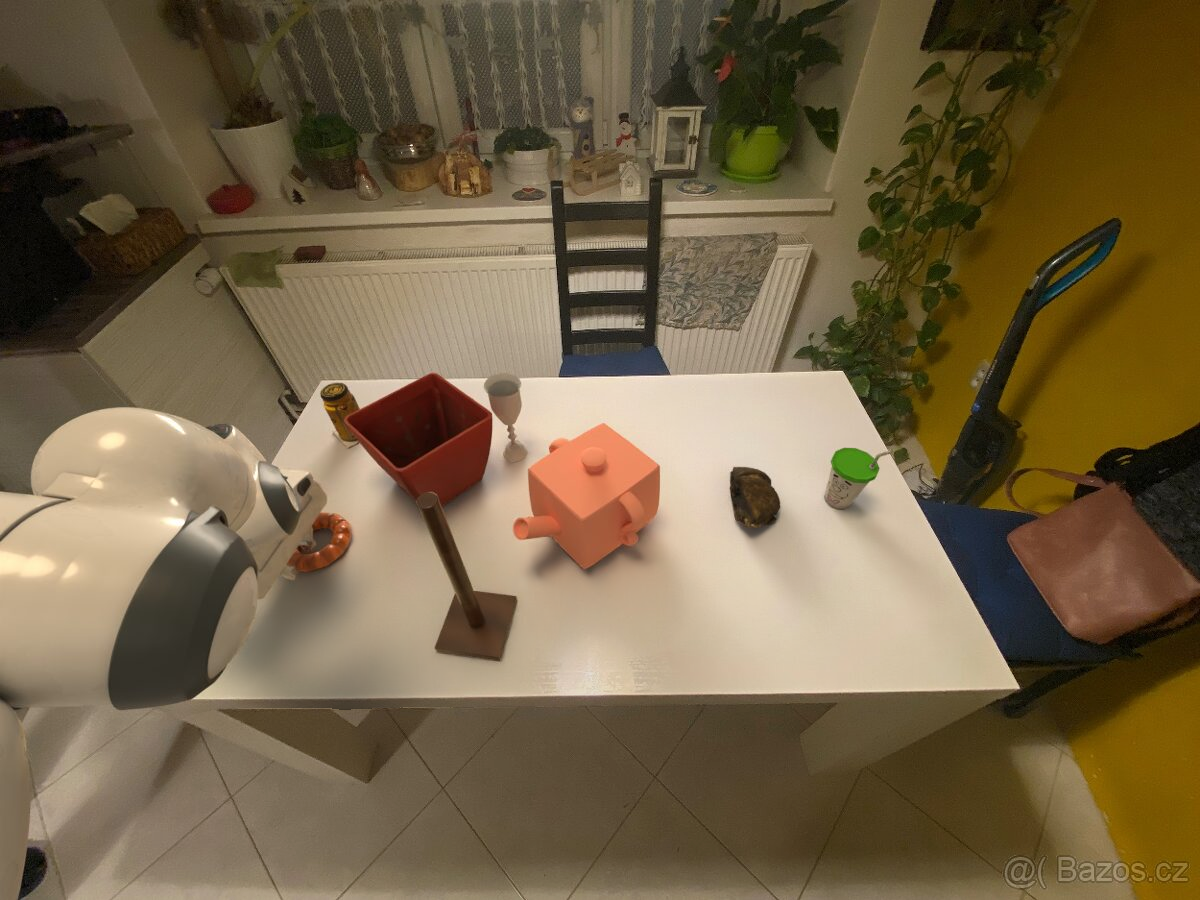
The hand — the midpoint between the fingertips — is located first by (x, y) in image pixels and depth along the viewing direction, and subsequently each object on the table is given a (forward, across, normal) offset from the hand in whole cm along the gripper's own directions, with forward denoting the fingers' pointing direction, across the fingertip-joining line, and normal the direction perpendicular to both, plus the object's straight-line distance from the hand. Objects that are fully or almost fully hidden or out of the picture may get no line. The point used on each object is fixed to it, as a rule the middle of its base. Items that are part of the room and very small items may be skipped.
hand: (301, 561), depth 86 cm
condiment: (+2, +33, +7) cm, 34 cm away
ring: (0, +4, 0) cm, 4 cm away
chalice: (+2, +31, -29) cm, 43 cm away
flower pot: (+2, +22, -16) cm, 28 cm away
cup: (+2, +27, -93) cm, 97 cm away
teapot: (+2, +13, -46) cm, 48 cm away
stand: (+2, -6, -33) cm, 34 cm away
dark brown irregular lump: (+2, +24, -77) cm, 81 cm away
